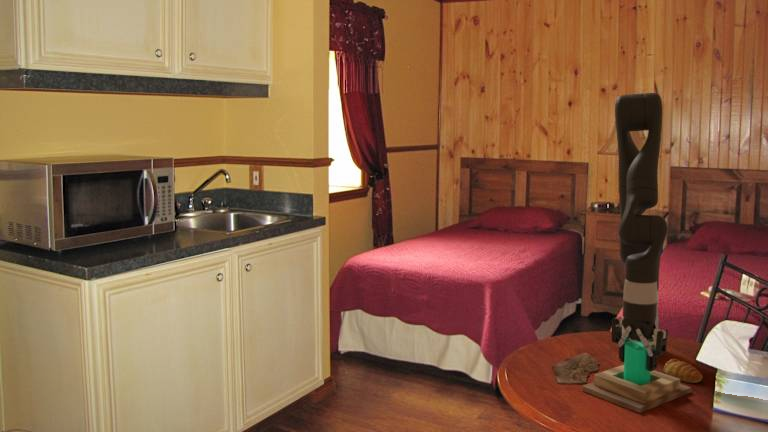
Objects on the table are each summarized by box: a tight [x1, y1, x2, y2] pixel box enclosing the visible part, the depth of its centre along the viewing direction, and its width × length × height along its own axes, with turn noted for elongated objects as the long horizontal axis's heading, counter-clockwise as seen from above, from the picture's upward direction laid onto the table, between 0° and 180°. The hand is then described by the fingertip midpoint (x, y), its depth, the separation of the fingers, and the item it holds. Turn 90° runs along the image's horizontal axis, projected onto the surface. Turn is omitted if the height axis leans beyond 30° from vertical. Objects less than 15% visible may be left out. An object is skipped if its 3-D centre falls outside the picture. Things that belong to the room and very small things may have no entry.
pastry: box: [662, 358, 703, 384], centre depth 175 cm, size 9×7×4 cm
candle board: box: [581, 364, 692, 414], centre depth 167 cm, size 20×16×4 cm
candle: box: [623, 341, 650, 386], centre depth 166 cm, size 6×6×12 cm
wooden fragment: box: [551, 352, 601, 386], centre depth 183 cm, size 26×11×1 cm, turn 147°
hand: (637, 365), depth 166 cm, fingers open, 7 cm apart
